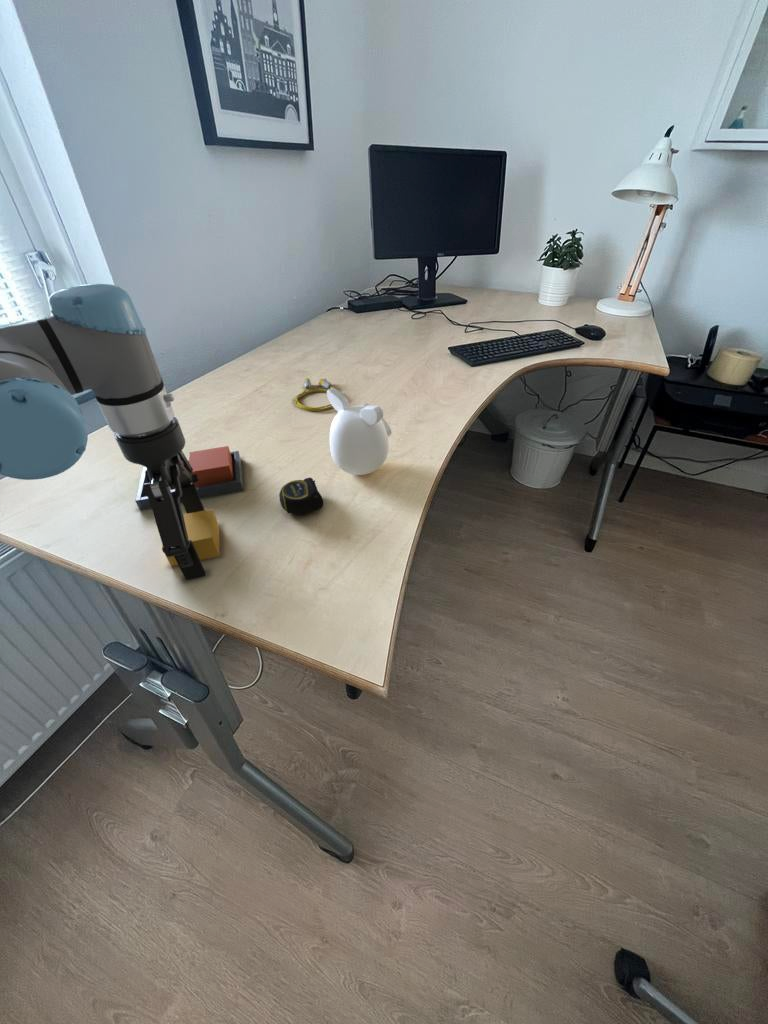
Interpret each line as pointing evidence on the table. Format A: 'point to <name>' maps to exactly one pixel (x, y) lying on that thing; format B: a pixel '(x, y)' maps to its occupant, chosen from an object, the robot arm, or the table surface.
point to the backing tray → (202, 491)
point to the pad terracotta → (212, 466)
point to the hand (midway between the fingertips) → (197, 544)
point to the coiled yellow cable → (307, 386)
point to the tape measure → (300, 497)
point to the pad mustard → (201, 534)
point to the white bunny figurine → (357, 436)
